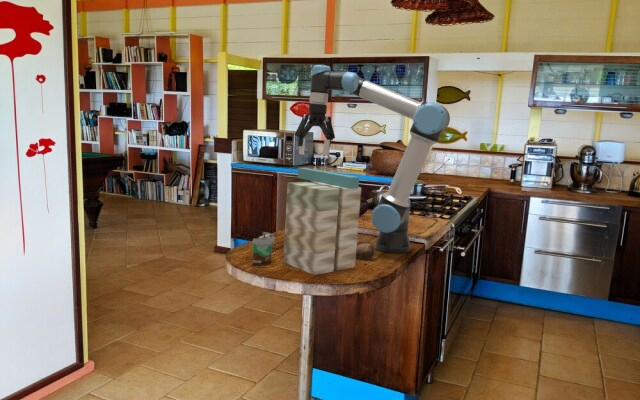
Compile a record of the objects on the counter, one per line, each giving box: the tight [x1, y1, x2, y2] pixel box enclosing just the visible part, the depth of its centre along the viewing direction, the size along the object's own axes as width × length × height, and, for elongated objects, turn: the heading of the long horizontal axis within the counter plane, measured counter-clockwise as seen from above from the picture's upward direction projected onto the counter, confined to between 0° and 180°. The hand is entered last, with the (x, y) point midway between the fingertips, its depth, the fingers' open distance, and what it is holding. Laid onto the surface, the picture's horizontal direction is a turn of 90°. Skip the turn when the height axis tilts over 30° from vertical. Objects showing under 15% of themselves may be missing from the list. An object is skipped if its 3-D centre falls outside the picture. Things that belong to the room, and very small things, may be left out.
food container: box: [252, 231, 276, 266], centre depth 186 cm, size 12×6×10 cm, turn 168°
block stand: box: [282, 181, 362, 276], centre depth 186 cm, size 18×20×30 cm
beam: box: [297, 167, 360, 189], centre depth 191 cm, size 30×4×4 cm, turn 41°
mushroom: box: [356, 242, 375, 261], centre depth 202 cm, size 8×8×6 cm
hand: (313, 154), depth 213 cm, fingers open, 13 cm apart
